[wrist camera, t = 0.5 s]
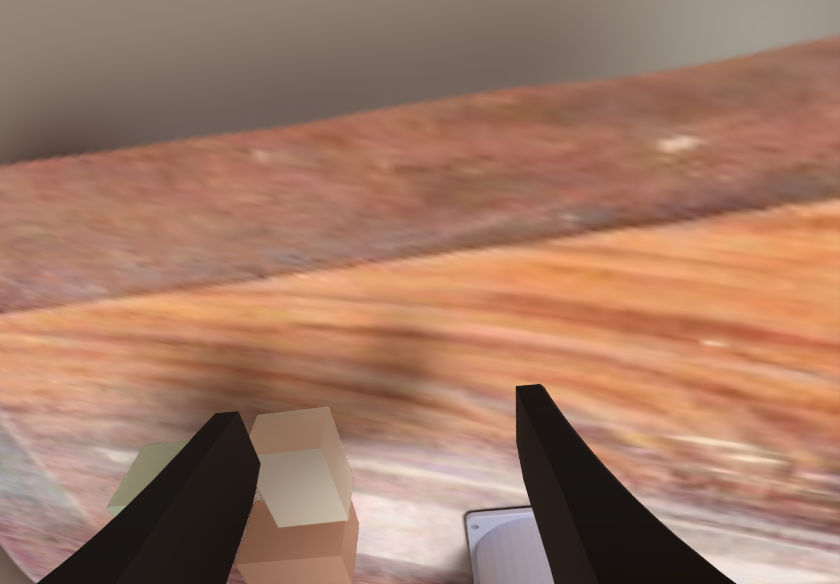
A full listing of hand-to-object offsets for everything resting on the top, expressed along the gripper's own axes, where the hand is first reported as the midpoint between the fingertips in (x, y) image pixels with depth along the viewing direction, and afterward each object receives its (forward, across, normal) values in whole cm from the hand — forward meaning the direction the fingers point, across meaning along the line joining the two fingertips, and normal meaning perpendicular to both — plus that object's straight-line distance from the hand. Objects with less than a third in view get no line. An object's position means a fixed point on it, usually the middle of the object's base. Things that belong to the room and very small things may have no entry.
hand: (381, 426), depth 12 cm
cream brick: (+10, +7, +12) cm, 17 cm away
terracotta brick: (+10, +8, +18) cm, 22 cm away
